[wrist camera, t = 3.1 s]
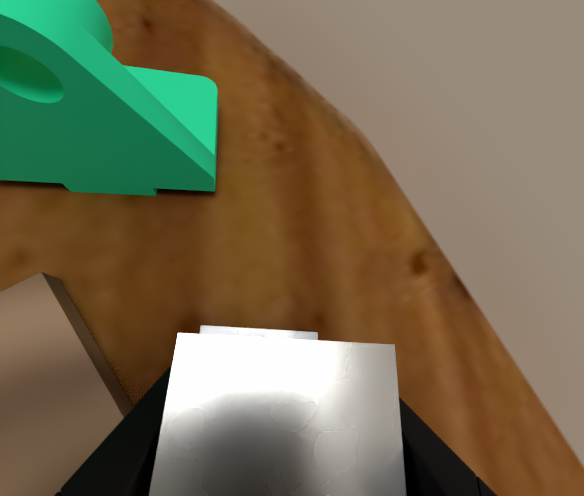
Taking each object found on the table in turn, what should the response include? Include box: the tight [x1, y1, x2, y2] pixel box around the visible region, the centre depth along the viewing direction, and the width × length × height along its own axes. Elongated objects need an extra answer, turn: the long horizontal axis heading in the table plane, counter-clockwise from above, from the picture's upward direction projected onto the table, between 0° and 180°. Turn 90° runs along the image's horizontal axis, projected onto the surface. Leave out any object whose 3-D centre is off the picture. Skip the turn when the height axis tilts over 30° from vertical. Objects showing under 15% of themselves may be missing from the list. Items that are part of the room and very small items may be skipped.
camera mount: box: [0, 0, 218, 196], centre depth 14 cm, size 12×8×10 cm, turn 93°
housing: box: [149, 325, 406, 496], centre depth 10 cm, size 6×6×10 cm
